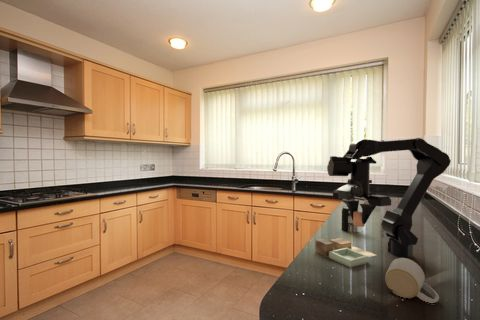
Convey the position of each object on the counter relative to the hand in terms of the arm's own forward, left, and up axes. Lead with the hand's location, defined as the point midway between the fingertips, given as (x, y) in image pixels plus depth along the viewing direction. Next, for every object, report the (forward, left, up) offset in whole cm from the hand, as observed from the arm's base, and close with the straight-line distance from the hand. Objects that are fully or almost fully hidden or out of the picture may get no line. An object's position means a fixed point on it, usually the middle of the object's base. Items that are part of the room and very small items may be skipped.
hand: (358, 222), depth 83 cm
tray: (-2, +8, -11) cm, 13 cm away
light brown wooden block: (+5, +2, -11) cm, 12 cm away
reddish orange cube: (0, 0, -1) cm, 1 cm away
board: (+2, +4, -12) cm, 13 cm away
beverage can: (+20, -21, -12) cm, 32 cm away
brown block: (+5, +10, -11) cm, 16 cm away
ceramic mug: (-21, +8, -13) cm, 26 cm away
